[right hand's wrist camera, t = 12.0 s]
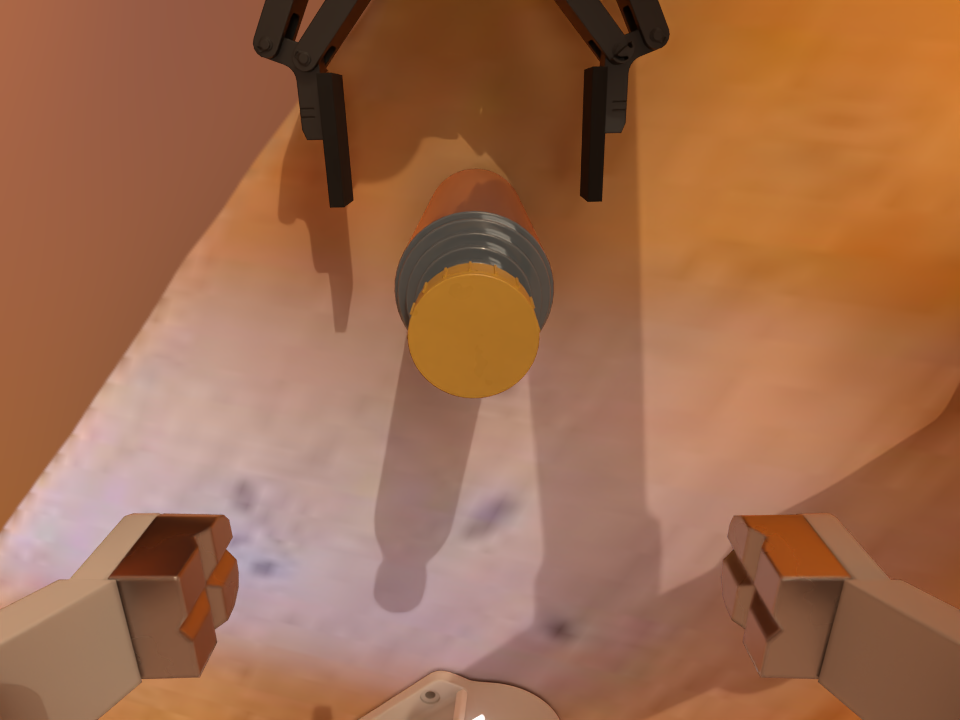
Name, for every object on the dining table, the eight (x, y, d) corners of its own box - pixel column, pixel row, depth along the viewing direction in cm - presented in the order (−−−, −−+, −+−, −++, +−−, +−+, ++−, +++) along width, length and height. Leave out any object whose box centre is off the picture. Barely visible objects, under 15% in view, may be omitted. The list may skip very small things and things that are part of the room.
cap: (418, 252, 20) (414, 263, 19) (546, 271, 20) (551, 283, 19) (405, 371, 22) (400, 390, 20) (524, 387, 22) (528, 407, 20)
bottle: (434, 161, 40) (384, 222, 19) (530, 176, 41) (590, 251, 19) (423, 257, 42) (367, 409, 21) (514, 270, 43) (551, 433, 21)
